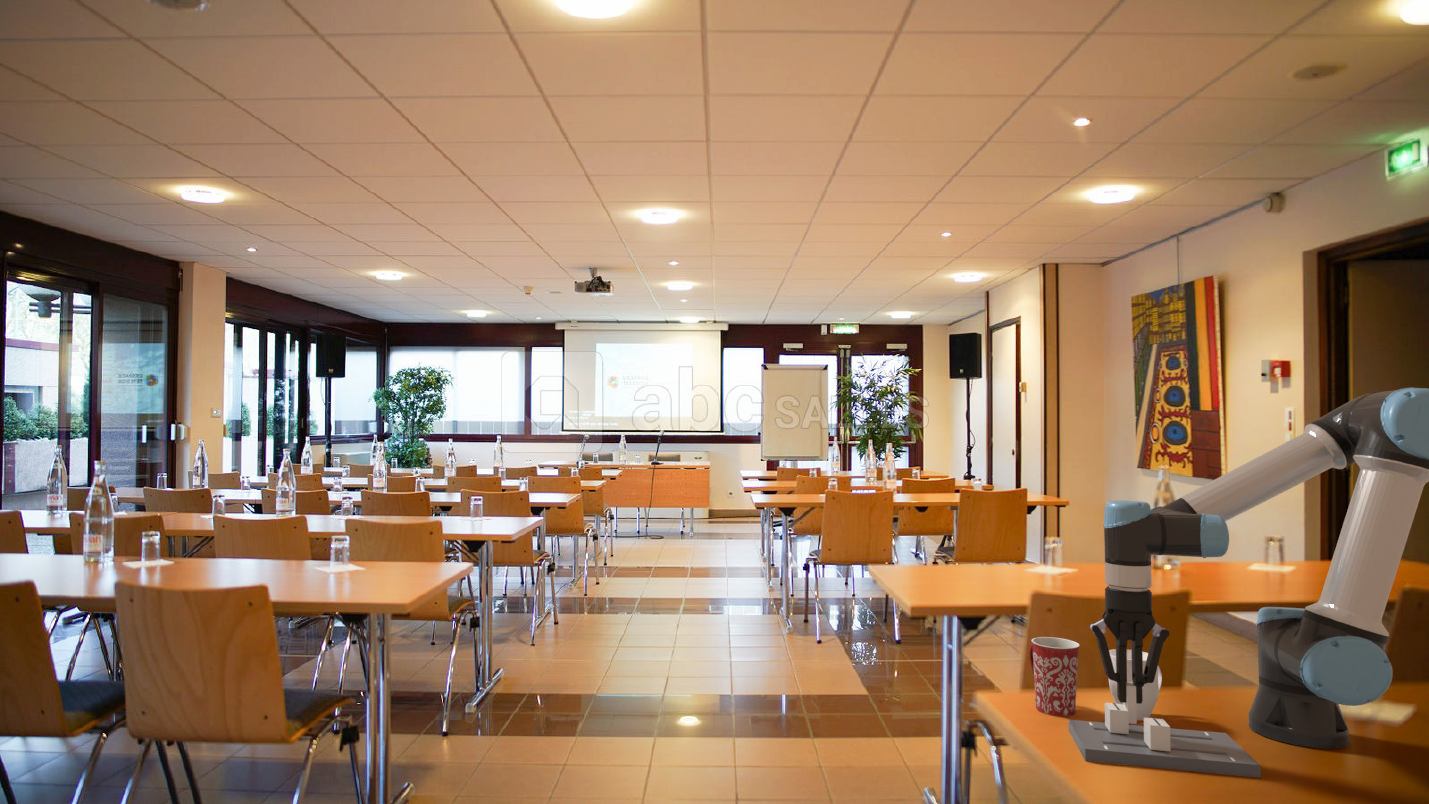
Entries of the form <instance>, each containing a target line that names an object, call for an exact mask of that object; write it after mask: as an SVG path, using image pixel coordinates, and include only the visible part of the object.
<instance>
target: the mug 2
mask: <svg viewBox="0 0 1429 804" xmlns="http://www.w3.org/2000/svg"><path fill="white" fill-rule="evenodd" d="M1109 653H1110V656H1111V660H1112V664H1113V668H1114V671H1115V673H1116V648H1115V649H1109ZM1148 653H1149V652H1145V651H1142V658H1143V673H1144V669H1145V665H1146V661H1147V657H1148ZM1162 680H1163V677H1162V670H1161V668H1160V666H1159V665H1158V667H1157V671H1156V675H1155V679H1154V682H1153V683H1146V684H1144V686H1143V687H1142V703H1141V704H1137V703H1136V711H1137V721H1144V718H1151V715H1152V713H1153V710H1154V708H1155V705H1156V704H1157V701H1158V699H1159V693H1160V690H1161V688H1162V682H1163V681H1162ZM1127 682H1132V683H1133V680H1132V651H1131V649H1127ZM1108 684H1109V686H1108V687H1109V691H1110V693H1111V696H1112V699H1113V701H1114V703H1115V704H1123V705H1124V702H1120V701H1119V700H1118V697H1117V682H1116V681H1113V680H1110V679H1109V678H1108Z"/></svg>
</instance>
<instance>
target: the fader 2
mask: <svg viewBox="0 0 1429 804" xmlns="http://www.w3.org/2000/svg"><path fill="white" fill-rule="evenodd" d="M1143 726H1144V742H1145V743H1146V744H1147V746H1148V747H1149V748H1150V749H1151V750H1161V751H1170V728H1171V725H1169V724H1168V723H1167V722H1166V720H1165V719H1163V718H1157V717H1156V718H1155V717H1150V718H1144V720H1143Z"/></svg>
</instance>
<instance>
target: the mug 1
mask: <svg viewBox="0 0 1429 804" xmlns="http://www.w3.org/2000/svg"><path fill="white" fill-rule="evenodd" d="M1080 648H1081V644H1080V643H1078V642H1076V641H1073V640H1071V639H1067V638H1060V637H1053V636H1051V637H1050V636H1039V637H1035V638H1034V637H1033V638H1032V639H1031V645H1030V648H1029V662H1030V668H1031V671H1032V674H1033V677H1034V678H1033V679H1034V698H1035V699H1034V701H1035V707H1036V710H1038V712H1040V713H1044V714H1046V715H1051V716H1057V717H1069V716H1073V715H1075V713H1076V704H1077V703H1076V700H1077V682H1078V667H1079V666H1078V665H1079V650H1080Z"/></svg>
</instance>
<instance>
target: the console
mask: <svg viewBox="0 0 1429 804" xmlns="http://www.w3.org/2000/svg"><path fill="white" fill-rule="evenodd" d="M1068 732H1069V734H1070V736H1071V737H1072V739H1073V740H1074V742H1075V745H1076V747H1077V748H1078V750H1079V752H1080V753H1081V756H1082V757H1083V759H1084V761H1085V762H1089V763H1090V762H1091V763H1092V762H1093V763H1103V764H1113V765H1123V766H1133V767H1135V766H1136V767H1145V768H1154V769H1155V768H1156V769H1163V770H1166V769H1167V770H1173V771H1175V770H1176V771H1177V770H1178V771H1184V772H1185V771H1186V772H1187V771H1188V772H1196V773H1206V774H1207V773H1208V774H1217V775H1226V776H1227V775H1228V776H1237V777H1238V776H1239V777H1248V778H1258V779H1261V778H1262V770H1261V764H1260V763H1259V762H1258V761H1257V760H1256V759H1255V758H1254V757H1253V756H1251V755H1250V754H1249V753H1248V752H1247V751H1246V750H1245V749H1244V748H1243V747H1242V746H1241V745H1239V744H1238V743H1237V742H1236V741H1235V740H1234V739H1233V738H1232V737H1231V736H1229V734H1227V733H1226V732H1220V731H1218V732H1217V731H1216V732H1215V731H1205V730H1195V729H1194V730H1193V729H1181V728H1171V727H1170V751H1161V750H1151V749H1150V748H1149V747H1148V746H1147V744H1146V743H1145V742H1144V725H1137V724H1129V734H1121V733H1110V732H1109V730H1108V729H1107V727H1106V726H1105V722H1101V721H1100V722H1099V721H1088V720H1087V721H1086V720H1078V719H1076V720H1075V719H1068Z"/></svg>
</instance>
